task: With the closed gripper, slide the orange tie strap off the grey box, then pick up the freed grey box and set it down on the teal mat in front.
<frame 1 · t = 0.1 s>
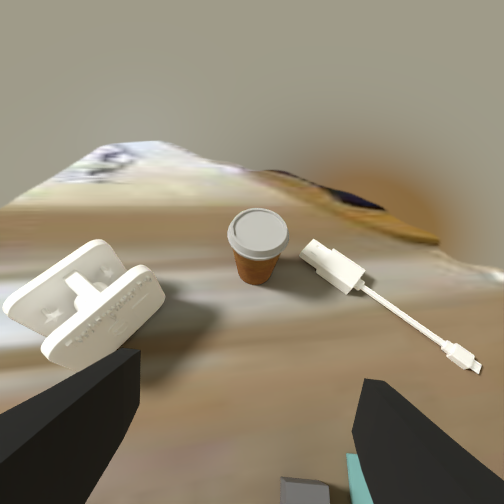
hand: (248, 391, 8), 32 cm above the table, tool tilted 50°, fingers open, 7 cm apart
charging cable: (375, 303, 46), on the table
cable organizer: (114, 319, 42), on the table
disposable coffee cup: (254, 270, 49), on the table
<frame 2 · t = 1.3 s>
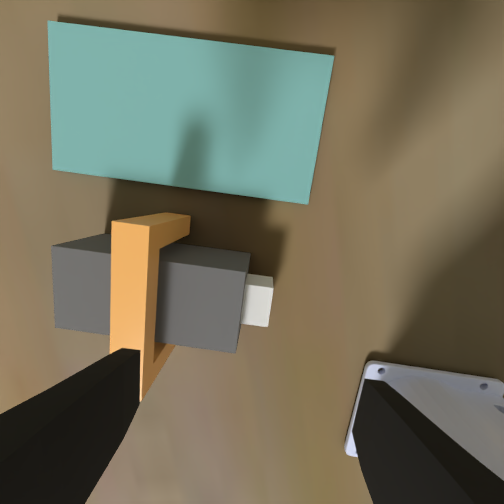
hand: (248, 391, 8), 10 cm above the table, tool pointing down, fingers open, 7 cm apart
grey box: (175, 274, 18), on the table
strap: (155, 293, 15), point 3 cm above the table, slide at 0.0 cm
mat: (186, 119, 16), on the table
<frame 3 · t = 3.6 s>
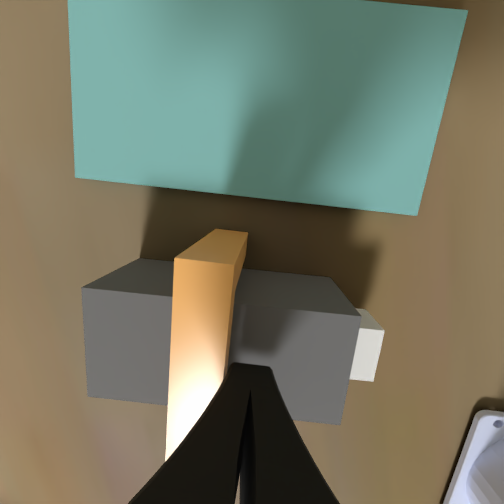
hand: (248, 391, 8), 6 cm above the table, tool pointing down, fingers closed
grey box: (231, 306, 14), on the table
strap: (213, 342, 11), point 3 cm above the table, slide at 0.4 cm, touching gripper
mat: (253, 106, 12), on the table
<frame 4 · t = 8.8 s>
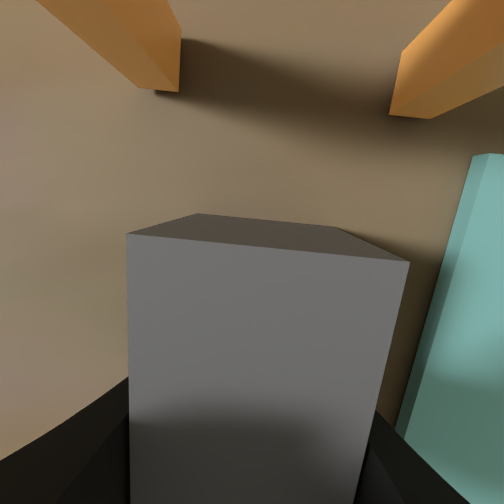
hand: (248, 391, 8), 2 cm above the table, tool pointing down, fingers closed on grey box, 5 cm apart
grey box: (251, 351, 10), on the table, touching gripper
when the fingers open (4 cm above the table, at t = 12.7 s): grey box drops 1 cm, resting on mat.
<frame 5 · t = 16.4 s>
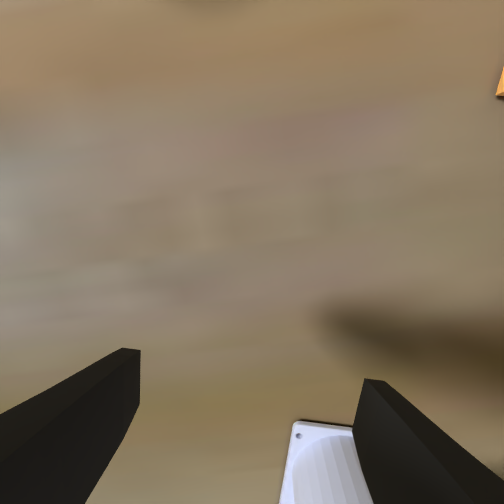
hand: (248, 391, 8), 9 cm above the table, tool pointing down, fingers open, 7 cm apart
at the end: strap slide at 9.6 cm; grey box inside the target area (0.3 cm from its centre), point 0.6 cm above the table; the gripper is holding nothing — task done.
